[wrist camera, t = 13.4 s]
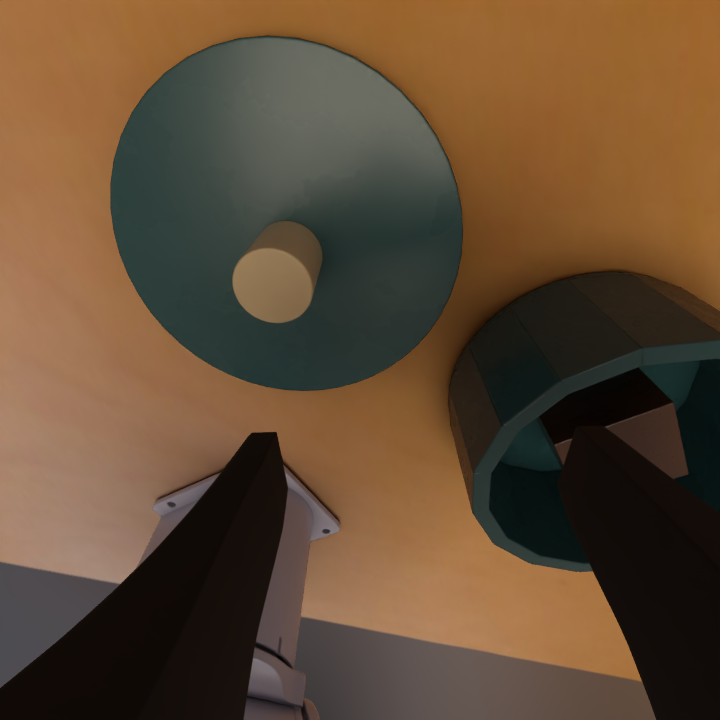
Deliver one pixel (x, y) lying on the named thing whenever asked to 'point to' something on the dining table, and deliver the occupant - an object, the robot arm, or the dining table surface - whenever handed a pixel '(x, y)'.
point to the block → (621, 419)
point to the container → (569, 374)
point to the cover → (286, 213)
